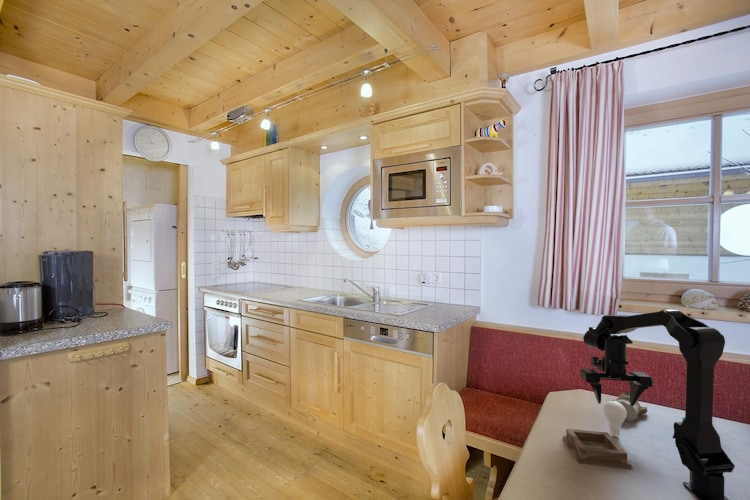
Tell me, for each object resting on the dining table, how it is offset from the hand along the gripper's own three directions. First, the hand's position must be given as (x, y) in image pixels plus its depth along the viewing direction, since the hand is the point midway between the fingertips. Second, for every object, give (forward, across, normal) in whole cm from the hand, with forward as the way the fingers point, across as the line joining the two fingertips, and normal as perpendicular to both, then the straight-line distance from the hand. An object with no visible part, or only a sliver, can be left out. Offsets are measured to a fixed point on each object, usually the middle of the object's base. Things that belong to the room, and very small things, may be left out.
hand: (615, 404), depth 111 cm
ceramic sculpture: (+10, -11, -17) cm, 23 cm away
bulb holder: (+10, +10, +11) cm, 18 cm away
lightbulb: (+10, 0, 0) cm, 10 cm away
